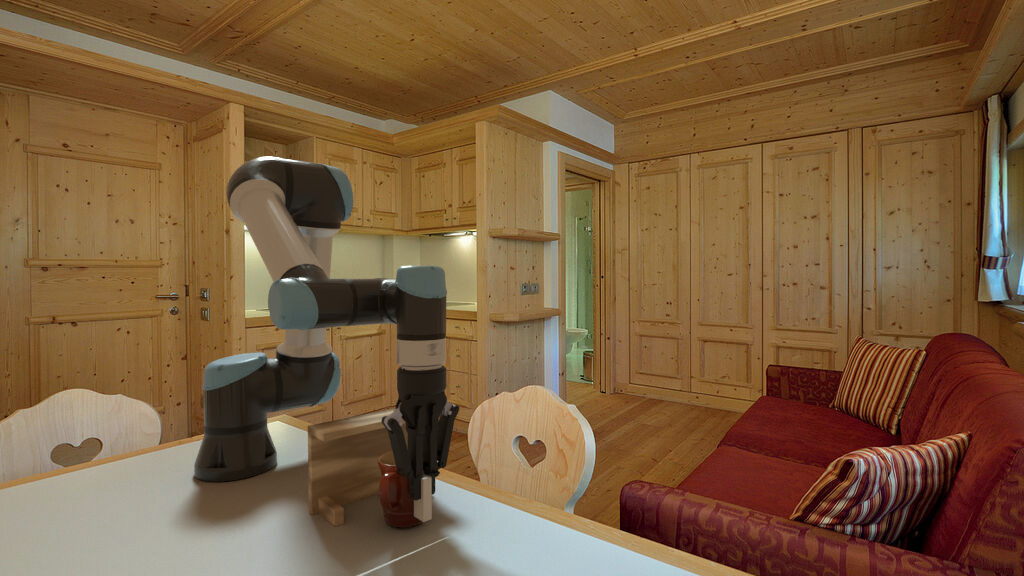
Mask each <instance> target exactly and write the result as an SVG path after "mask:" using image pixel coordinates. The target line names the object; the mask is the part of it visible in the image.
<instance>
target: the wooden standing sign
mask: <svg viewBox="0 0 1024 576" xmlns="http://www.w3.org/2000/svg"><path fill="white" fill-rule="evenodd" d="M395 410H396V407H395V408H391V409H386V410H381V411H376V412H369V413H366V414H360V415H355V416H350V417H346V418H341V419H335V420H331V421H330V420H329V421H326V422H325V421H324V422H321V423H315V424H311V425H307V469H308V471H307V472H308V473H307V474H308V476H307V478H308V479H307V480H308V482H307V483H308V513H309V514H311V516H314V515H317V514H319V515H320V516H321V517H322V518H323V519H324V520H326V521H327V522H329V523H330V524H331V525H333V526H334V527H338V526H341V525H343V524H345V516H344V515H345V509H344V507H343V506H344V505H348V504H350V503H353V502H357V501H360V500H362V499H366V498H369V497H372V496H375V495H379V484H380V480H381V478H382V474H381V471H380V468H379V465H378V462H377V459H378V457H379V456H381V455H382V454H384V453H387V452H389V451H392V447H391V442H390V438H389V434H388V430H387V429H386V428H385V426H384V425H383V423H382V418H383V417H384V416H390V415H391V414H392V413H393V412H394V411H395ZM401 421H402V426H401V428H402V430H403V433H404V437H405V441H406V446H407V448H408V433H407V431H406V423H405V421H404V420H403V419H402V417H401Z"/></svg>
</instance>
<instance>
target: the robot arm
mask: <svg viewBox="0 0 1024 576" xmlns="http://www.w3.org/2000/svg"><path fill="white" fill-rule="evenodd" d="M351 183H352V182H351V181H350V179H349V177H348V175H347V173H345V171H344V170H343V169H341V168H340V167H336V166H332V165H328V164H323V163H316V162H309V161H304V160H303V161H302V160H294V159H287V158H282V157H276V156H260V157H256V158H253V159H250V160H248V161H246V162H245V163H242V165H240V166H239V167H237V168H236V170H234V171H233V173H232V175H231V176H230V178H229V181H227V186H226V192H225V193H226V200H227V201H226V202H227V203H228V206H229V208H230V210H231V213H232V214H233V215H234V217H235V218H236V219H238V220H239V221H240V222H242V223H244V226H245V227H246V230H247V231H248V234H249V235H250V237H251V239H252V242H253V243H254V245H255V248H256V249H257V251H258V253H259V256H260V257H261V259H262V262H263V264H264V266H265V267H266V270H267V272H268V274H269V275H270V277H271V280H272V281H273V282H272V283H271V285H270V287H269V291H268V293H267V306H268V307H267V308H268V311H269V319H270V321H271V323H272V324H273V325H274V326H275V327H276V328H277V329H280V330H284V340H283V341H282V342H281V343H280V344H278V345H277V346H276V349H275V350H276V352H275V357H271V358H268V356H267V354H266V353H264V352H260V351H259V352H249V353H239V354H235V355H230V356H225V357H222V358H219V359H216V360H214V361H211V362H210V363H208V364H207V365H206V366H205V367H204V370H203V377H202V378H203V379H202V381H203V382H202V386H201V389H202V391H203V397H202V398H203V399H202V400H203V438H202V441H201V444H200V447H199V449H198V452H197V456H196V458H195V462H194V468H193V469H194V470H193V471H194V477H195V479H197V480H199V481H204V482H218V483H219V482H229V481H230V482H231V481H237V480H242V479H247V478H251V477H254V476H258V475H261V474H262V473H266V472H267V471H270V470H271V469H273V468H274V467H275V466H276V465H277V463H278V457H277V456H278V452H277V449H276V446H275V444H274V441H273V438H272V436H271V434H270V430H269V426H268V414H270V413H276V412H282V411H288V410H293V409H294V410H295V409H300V408H306V407H307V408H308V407H309V408H310V407H316V406H318V405H321V404H325V403H327V402H328V403H329V401H331V400H332V399H333V398H334V397H335V396H336V394H337V392H338V390H339V388H340V385H341V378H342V377H341V376H342V369H341V367H340V366H341V363H340V362H341V361H340V359H339V357H338V355H337V354H336V353H334V352H333V347H332V345H330V344H329V343H328V342H327V341H326V339H327V328H337V327H338V328H340V327H353V326H369V325H372V326H373V325H383V324H384V325H385V324H386V325H387V324H389V325H396V364H397V365H399V366H400V367H399V366H398V369H397V370H396V391H397V394H398V398H397V400H396V401H397V402H396V403H395V408H396V410H395V411H394V412H393V413H392V414H391V415H390V416H384V417H383V418H382V423H383V425H384V426H385V428H386V429H387V430H388V434H389V438H390V442H391V447H392V451H393V455H394V459H395V464H396V468H397V472H398V474H399V475H401V476H403V477H405V478H407V479H410V497H411V498H412V499H414V516H415V517H416V518H418V519H419V520H421V521H422V523H425V522H428V521H430V520H432V518H433V517H432V516H433V515H432V514H433V510H432V509H433V508H432V507H433V506H432V503H433V502H432V501H433V500H432V498H433V497H432V496H434V495H435V493H436V478H437V477H439V475H440V474H441V472H440V469H444V468H446V466H447V465H448V464H447V463H448V457H449V452H450V448H451V446H450V445H451V440H452V436H453V435H452V434H453V430H454V425H455V419H456V418H457V416H458V413H459V411H460V406H459V405H456V404H454V403H451V402H450V401H448V397H447V395H446V392H445V390H446V389H447V386H448V385H447V367H446V366H444V364H446V362H447V295H448V291H447V287H446V286H447V283H446V272H445V270H444V268H443V267H442V266H439V265H402V266H399V267H398V268H397V270H396V276H395V278H387V277H381V278H380V277H374V278H331V271H332V270H331V266H332V253H333V237H334V236H335V235H336V234H337V233H339V232H340V231H341V230H342V229H341V226H342V223H343V222H345V221H347V220H349V219H350V217H351V216H352V215H351V214H352V213H353V208H354V193H353V192H354V191H353V187H352V184H351ZM401 417H402V419H403V420H404V421H405V423H406V431H407V433H408V450H407V446H406V441H405V437H404V433H403V430H402V428H401V426H402V421H401ZM423 471H424V473H423Z"/></svg>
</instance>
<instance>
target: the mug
mask: <svg viewBox="0 0 1024 576" xmlns="http://www.w3.org/2000/svg"><path fill="white" fill-rule="evenodd" d="M407 450H408V448H407ZM377 462H378V465H379V468H380V471H381V474H382V478H381V480H380V484H379V493H378V495H379V497H378V498H379V502H380V505H381V508H382V512H383V517H384V521H385V523H386V524H387V525H389V526H391V527H394V528H399V529H401V528H402V529H403V528H404V529H405V528H411V527H415V526H417V525H420V524H421V523H423V521H421V520H419V519H418V518H416V517H415V516H414V499H412V498H411V497H410V479H407V478H405V477H403V476H401V475H399V474H398V472H397V468H396V464H395V459H394V455H393V451H389V452H387V453H384V454H382V455H381V456H379V457H378V459H377ZM423 473H424V471H423Z"/></svg>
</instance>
